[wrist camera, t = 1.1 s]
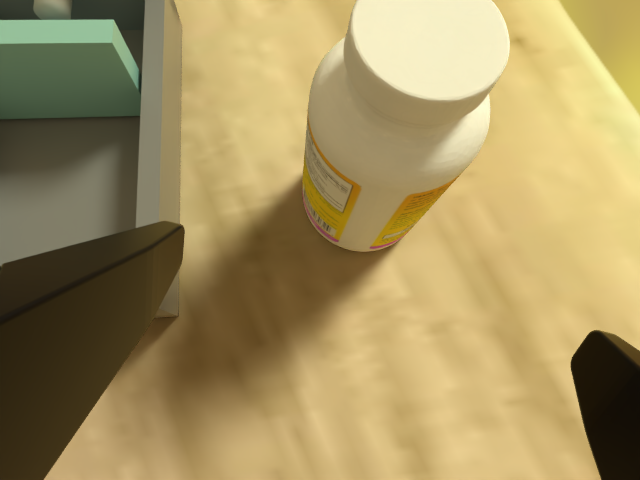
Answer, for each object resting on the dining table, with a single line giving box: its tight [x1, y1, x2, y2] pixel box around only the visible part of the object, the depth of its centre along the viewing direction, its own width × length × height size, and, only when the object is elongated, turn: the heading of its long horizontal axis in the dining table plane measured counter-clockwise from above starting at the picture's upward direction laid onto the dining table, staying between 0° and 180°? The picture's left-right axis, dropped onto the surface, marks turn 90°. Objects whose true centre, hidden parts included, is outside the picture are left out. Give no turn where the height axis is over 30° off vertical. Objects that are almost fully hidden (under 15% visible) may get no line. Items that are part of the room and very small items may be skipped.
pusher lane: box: [0, 0, 182, 318], centre depth 20 cm, size 18×11×7 cm, turn 5°
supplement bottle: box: [302, 0, 510, 252], centre depth 18 cm, size 7×7×13 cm
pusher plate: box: [0, 20, 142, 119], centre depth 21 cm, size 1×8×6 cm, turn 94°
